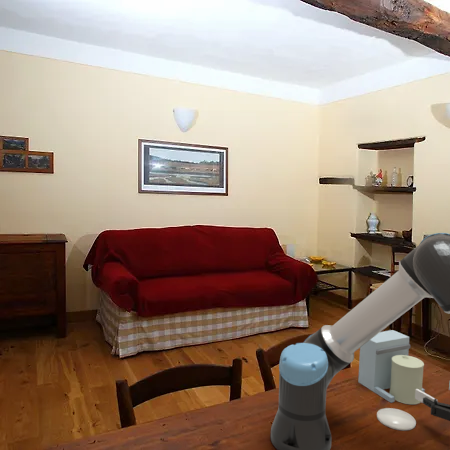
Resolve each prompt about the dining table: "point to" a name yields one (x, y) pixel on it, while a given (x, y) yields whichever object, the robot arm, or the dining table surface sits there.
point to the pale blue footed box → (381, 361)
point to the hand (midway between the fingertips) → (433, 389)
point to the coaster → (396, 419)
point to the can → (406, 378)
